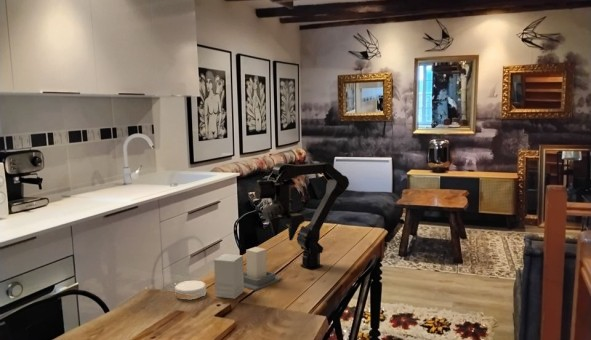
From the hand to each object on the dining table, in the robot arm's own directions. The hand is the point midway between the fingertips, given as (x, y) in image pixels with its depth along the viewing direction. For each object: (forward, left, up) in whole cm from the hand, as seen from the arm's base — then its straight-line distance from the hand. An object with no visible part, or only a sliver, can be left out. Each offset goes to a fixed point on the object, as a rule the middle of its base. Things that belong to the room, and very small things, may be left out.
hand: (282, 237), depth 178 cm
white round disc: (+38, -2, -14) cm, 40 cm away
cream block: (+14, +2, -12) cm, 19 cm away
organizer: (+14, +2, -13) cm, 19 cm away
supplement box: (+28, +6, -13) cm, 32 cm away
